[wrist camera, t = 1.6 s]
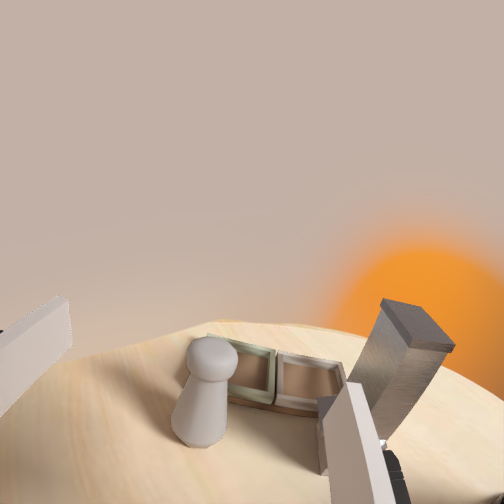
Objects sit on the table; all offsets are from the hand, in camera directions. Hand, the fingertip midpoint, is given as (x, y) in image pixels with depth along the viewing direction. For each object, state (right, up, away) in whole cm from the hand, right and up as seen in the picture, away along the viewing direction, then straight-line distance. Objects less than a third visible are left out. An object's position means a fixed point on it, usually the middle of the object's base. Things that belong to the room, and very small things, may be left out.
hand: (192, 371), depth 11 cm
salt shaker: (-3, -15, +14) cm, 21 cm away
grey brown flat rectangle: (+5, -13, +26) cm, 29 cm away
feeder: (+11, -18, +15) cm, 26 cm away
